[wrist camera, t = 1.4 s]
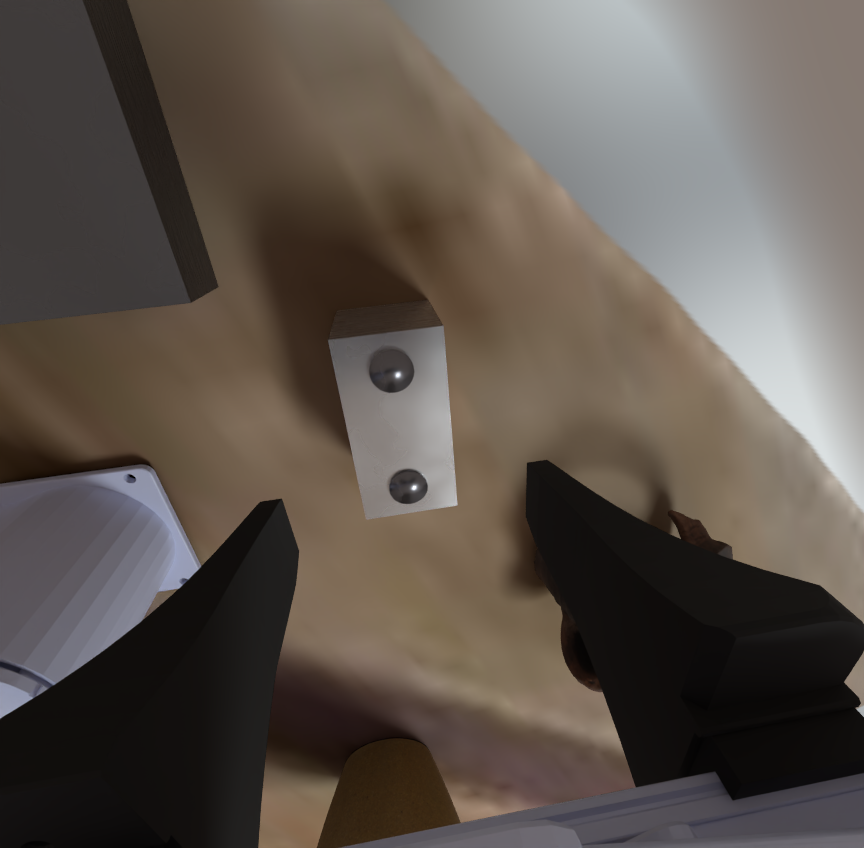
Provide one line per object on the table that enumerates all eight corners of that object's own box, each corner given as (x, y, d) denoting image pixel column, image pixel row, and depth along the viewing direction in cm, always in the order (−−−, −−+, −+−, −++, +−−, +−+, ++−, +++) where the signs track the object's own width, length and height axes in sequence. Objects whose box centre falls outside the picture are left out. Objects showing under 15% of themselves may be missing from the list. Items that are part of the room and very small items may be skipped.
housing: (442, 451, 22) (457, 507, 18) (366, 462, 22) (366, 521, 18) (428, 299, 19) (444, 327, 15) (336, 309, 18) (327, 341, 14)
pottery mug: (552, 470, 24) (707, 543, 18) (625, 472, 31) (759, 526, 25) (493, 648, 27) (614, 765, 21) (573, 615, 33) (684, 698, 27)
